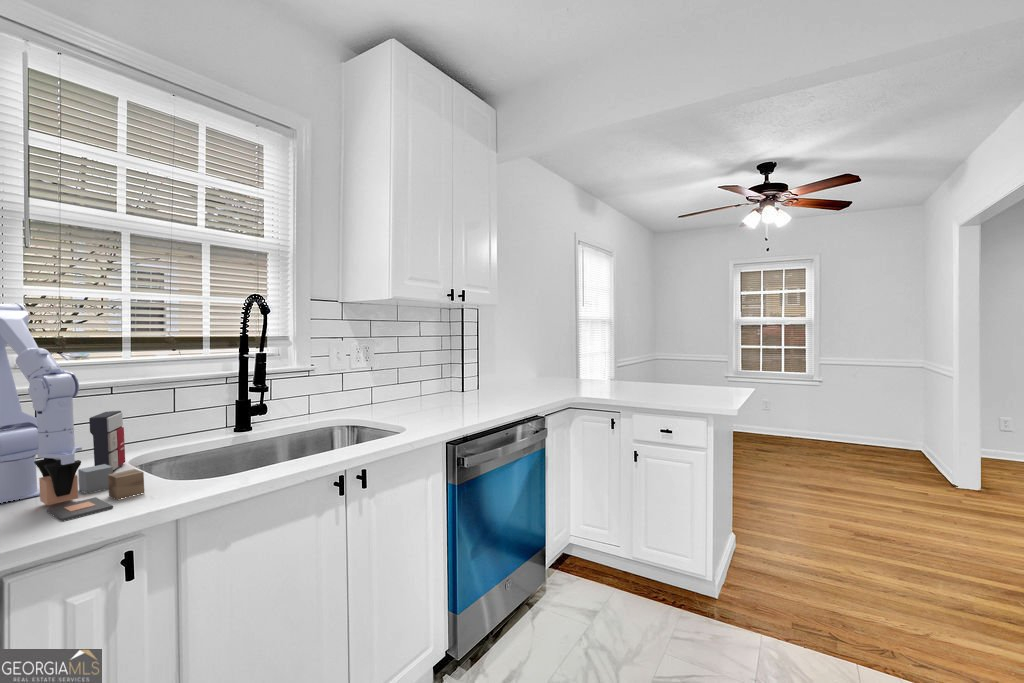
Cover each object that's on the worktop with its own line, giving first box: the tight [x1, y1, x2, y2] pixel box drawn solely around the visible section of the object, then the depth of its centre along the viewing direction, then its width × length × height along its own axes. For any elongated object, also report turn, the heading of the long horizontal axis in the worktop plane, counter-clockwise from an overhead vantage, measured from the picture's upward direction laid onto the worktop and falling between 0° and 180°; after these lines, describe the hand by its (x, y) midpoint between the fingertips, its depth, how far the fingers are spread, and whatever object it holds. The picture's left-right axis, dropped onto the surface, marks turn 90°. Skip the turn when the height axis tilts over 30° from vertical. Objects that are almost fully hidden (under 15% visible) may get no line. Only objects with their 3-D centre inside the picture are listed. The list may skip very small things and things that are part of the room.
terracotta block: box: [38, 474, 79, 506], centre depth 107 cm, size 5×5×5 cm
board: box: [46, 496, 114, 522], centre depth 103 cm, size 10×8×1 cm
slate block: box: [77, 464, 114, 494], centre depth 117 cm, size 5×5×5 cm
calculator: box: [89, 410, 126, 471], centre depth 133 cm, size 11×4×15 cm, turn 22°
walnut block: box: [108, 468, 145, 501], centre depth 112 cm, size 5×5×5 cm
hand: (59, 493), depth 107 cm, fingers closed on terracotta block, 5 cm apart
